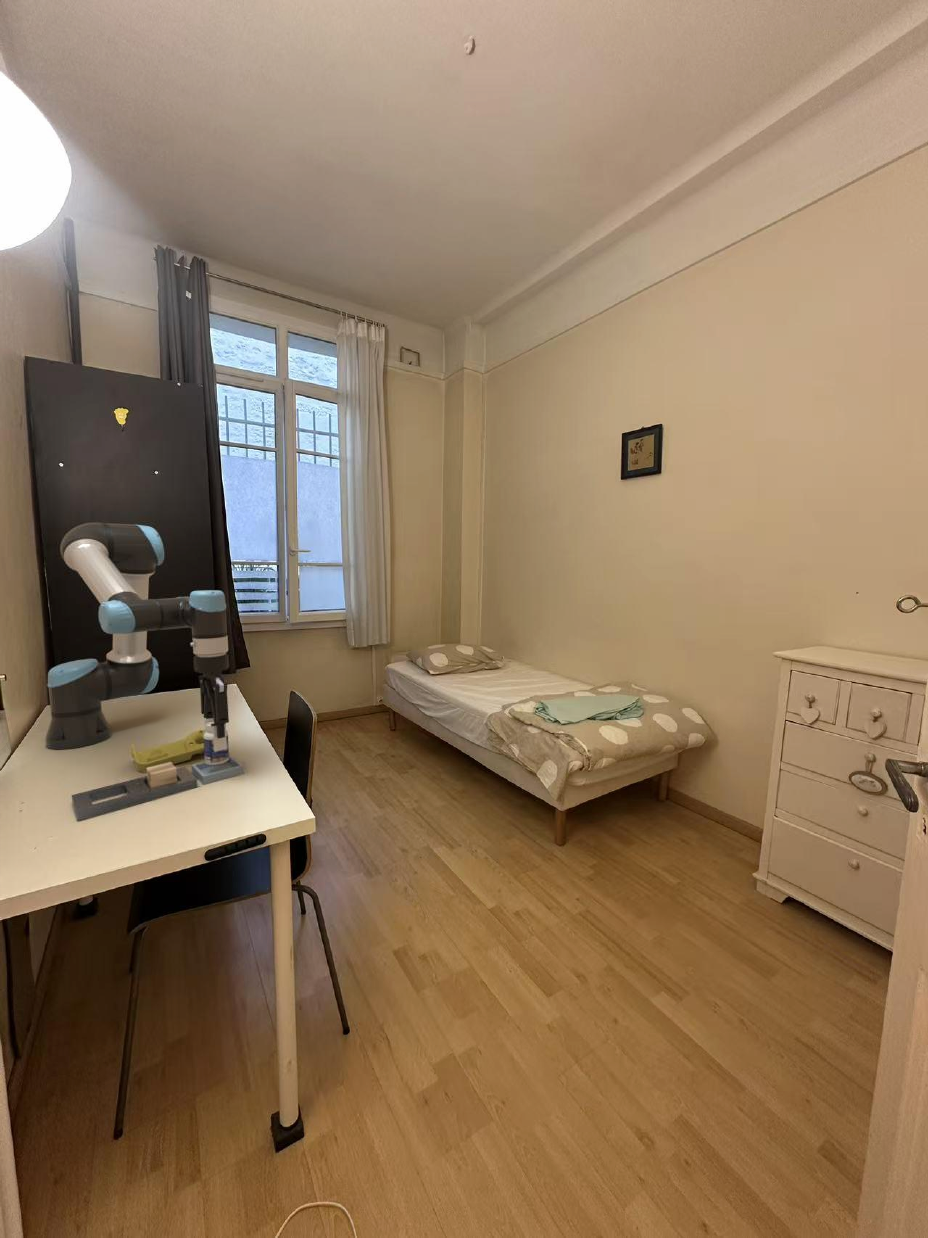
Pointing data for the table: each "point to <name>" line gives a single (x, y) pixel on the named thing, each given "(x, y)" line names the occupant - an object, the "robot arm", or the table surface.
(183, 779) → the rail
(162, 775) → the beech block
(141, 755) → the plastic component
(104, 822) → the table surface
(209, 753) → the pill bottle
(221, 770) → the tray
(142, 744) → the table surface
